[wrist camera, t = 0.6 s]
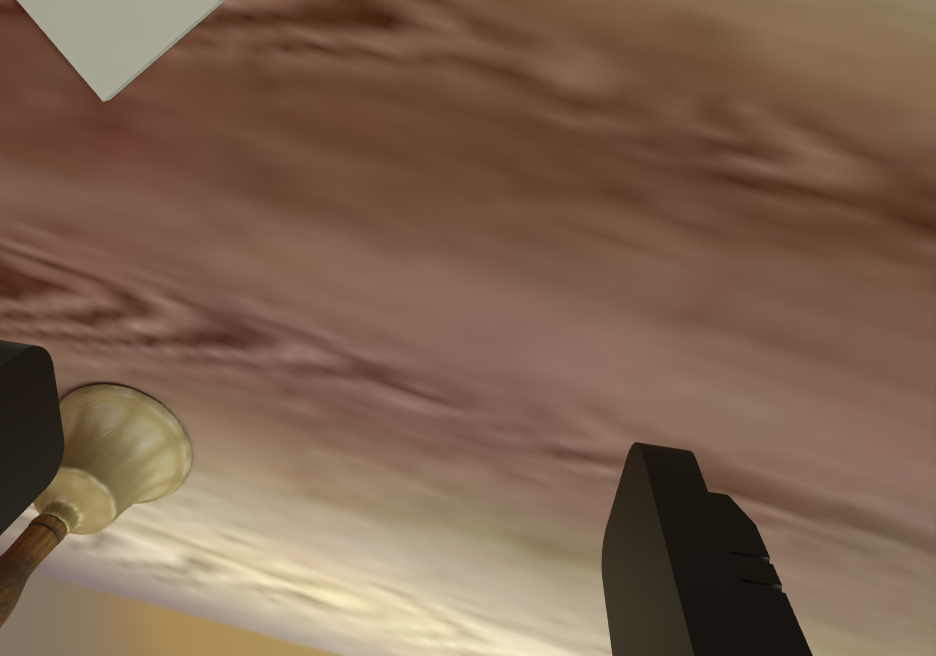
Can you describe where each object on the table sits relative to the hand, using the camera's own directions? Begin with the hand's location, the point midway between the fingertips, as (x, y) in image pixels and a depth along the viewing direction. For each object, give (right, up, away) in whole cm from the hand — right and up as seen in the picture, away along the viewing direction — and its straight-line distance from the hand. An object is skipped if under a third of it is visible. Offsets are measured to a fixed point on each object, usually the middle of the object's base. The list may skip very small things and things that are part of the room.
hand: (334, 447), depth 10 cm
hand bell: (-19, -5, +31) cm, 37 cm away
